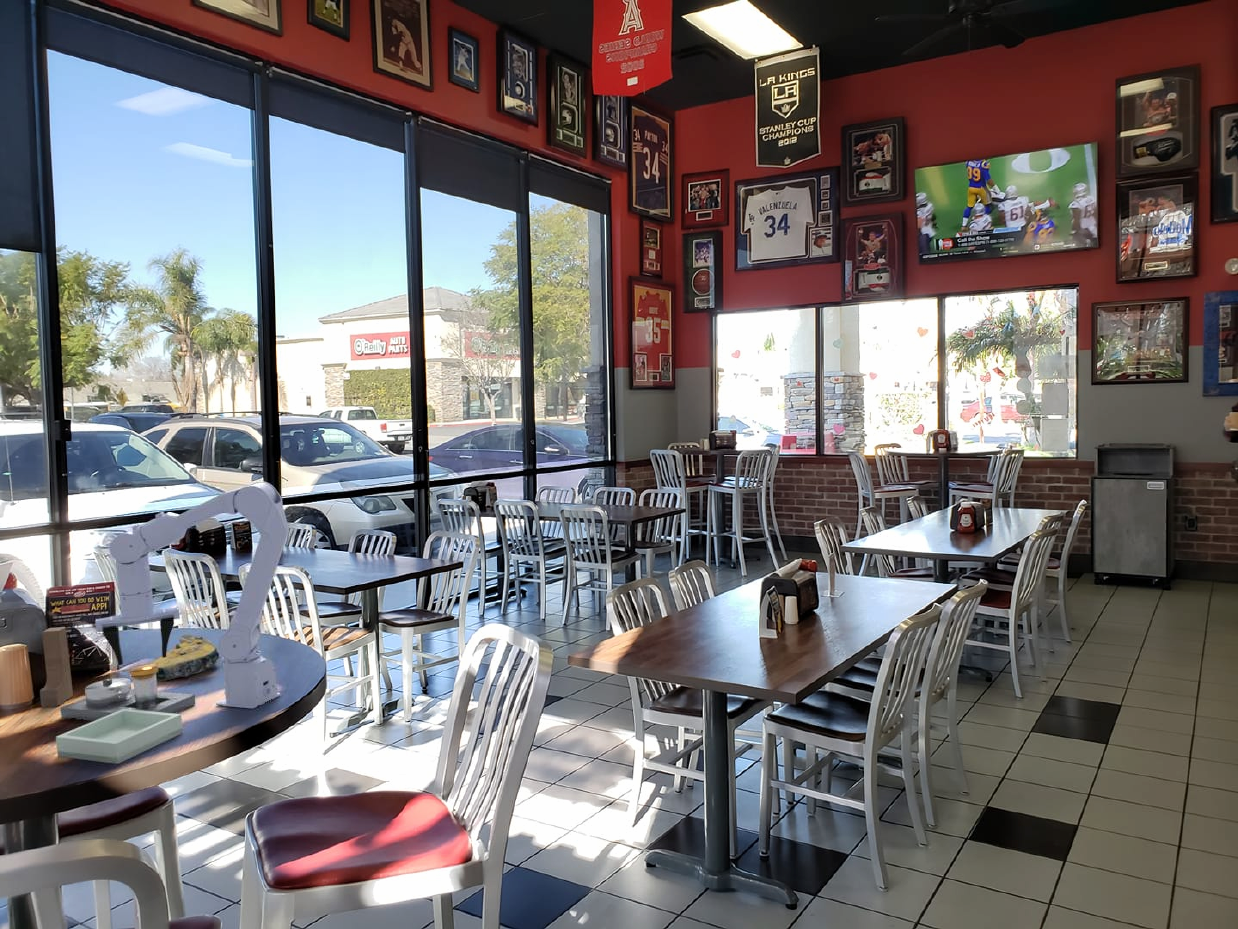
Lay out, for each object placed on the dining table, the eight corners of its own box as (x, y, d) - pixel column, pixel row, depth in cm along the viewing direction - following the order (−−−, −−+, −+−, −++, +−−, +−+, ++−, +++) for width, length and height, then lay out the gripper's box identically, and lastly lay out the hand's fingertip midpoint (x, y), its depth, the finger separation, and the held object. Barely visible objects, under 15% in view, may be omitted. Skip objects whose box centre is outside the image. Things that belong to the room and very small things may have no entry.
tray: (182, 732, 168) (181, 714, 168) (117, 764, 155) (115, 744, 155) (125, 726, 173) (123, 708, 173) (57, 756, 160) (55, 737, 160)
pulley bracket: (195, 704, 184) (192, 675, 183) (146, 726, 173) (142, 695, 172) (113, 696, 191) (110, 668, 191) (61, 717, 180) (58, 687, 180)
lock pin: (168, 709, 182) (163, 665, 181) (147, 718, 177) (142, 673, 176) (149, 707, 183) (144, 663, 183) (127, 716, 179) (123, 671, 178)
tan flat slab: (228, 619, 228) (207, 652, 199) (234, 641, 229) (214, 677, 200) (167, 634, 224) (138, 670, 196) (174, 657, 225) (145, 696, 196)
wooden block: (57, 697, 193) (49, 627, 192) (73, 696, 193) (66, 626, 192) (41, 708, 187) (32, 636, 185) (58, 706, 187) (50, 635, 186)
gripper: (176, 583, 186) (182, 648, 187) (94, 594, 180) (101, 661, 181) (176, 589, 180) (183, 656, 181) (92, 600, 173) (99, 670, 174)
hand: (142, 660), depth 180 cm, fingers open, 7 cm apart
